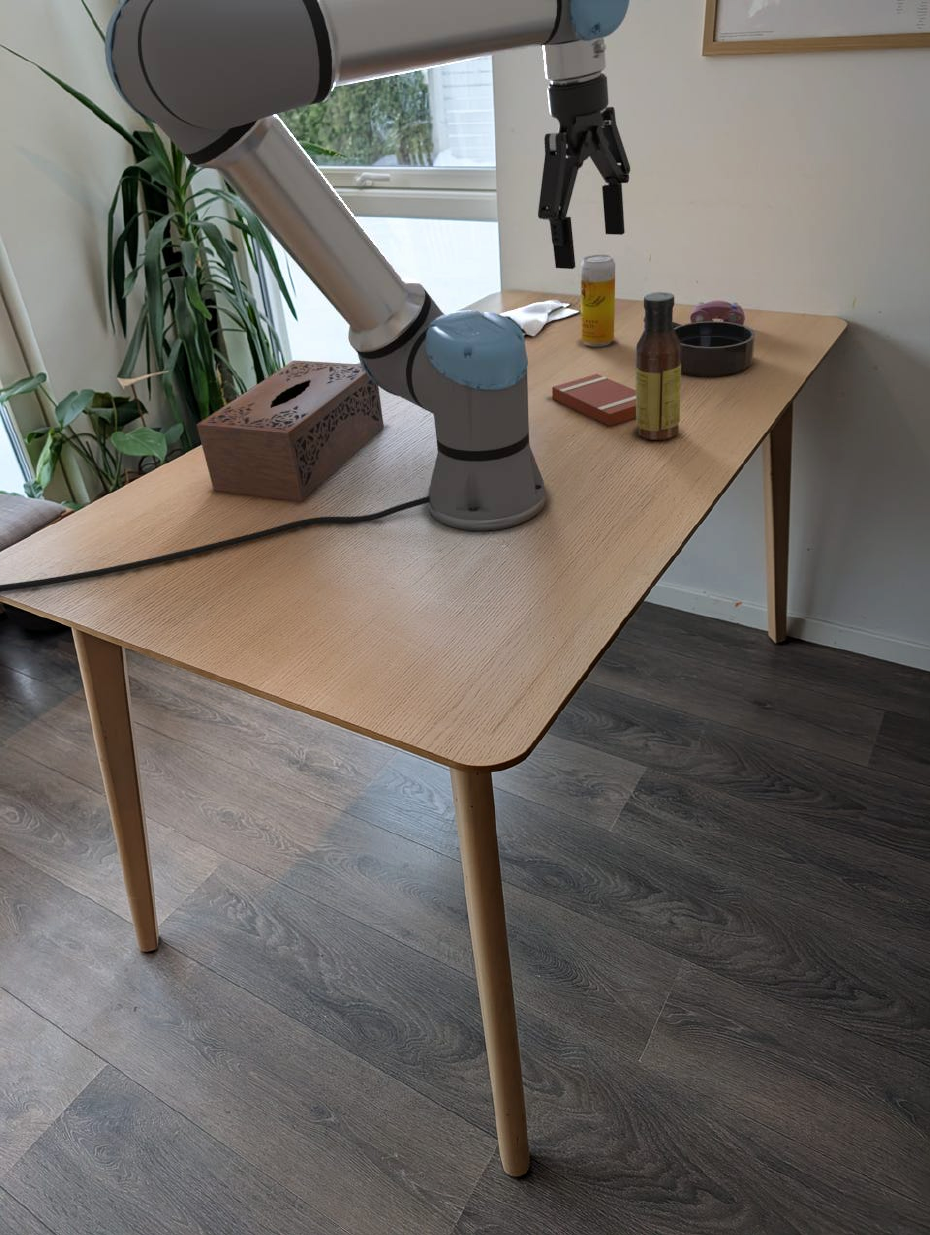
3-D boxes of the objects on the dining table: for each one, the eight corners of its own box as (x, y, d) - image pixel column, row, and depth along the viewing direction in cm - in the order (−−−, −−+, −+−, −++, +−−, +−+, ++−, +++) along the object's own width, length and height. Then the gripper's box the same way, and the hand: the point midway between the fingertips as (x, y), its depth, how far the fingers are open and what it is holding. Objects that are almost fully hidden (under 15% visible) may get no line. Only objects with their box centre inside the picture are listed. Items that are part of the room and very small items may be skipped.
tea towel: (609, 426, 134) (609, 413, 133) (552, 398, 145) (551, 386, 144) (656, 411, 137) (656, 398, 136) (596, 385, 148) (596, 373, 147)
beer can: (575, 341, 168) (574, 258, 159) (602, 335, 170) (603, 252, 161) (592, 349, 163) (592, 264, 155) (620, 343, 165) (622, 258, 156)
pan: (706, 384, 145) (708, 354, 142) (649, 362, 155) (650, 333, 153) (769, 363, 150) (773, 334, 148) (710, 344, 161) (712, 316, 158)
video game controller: (688, 339, 168) (688, 311, 162) (690, 322, 170) (691, 293, 164) (742, 340, 165) (745, 311, 159) (744, 322, 167) (747, 293, 161)
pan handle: (685, 334, 157) (686, 324, 156) (677, 336, 156) (678, 326, 155) (649, 322, 164) (649, 312, 163) (641, 324, 163) (641, 314, 162)
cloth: (537, 300, 192) (537, 289, 191) (591, 307, 185) (591, 296, 183) (462, 335, 176) (461, 323, 175) (518, 344, 169) (517, 332, 167)
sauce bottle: (676, 424, 133) (685, 287, 121) (681, 441, 128) (690, 300, 116) (632, 426, 134) (636, 290, 122) (634, 443, 129) (639, 303, 117)
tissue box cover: (301, 501, 121) (287, 433, 116) (213, 490, 126) (196, 424, 121) (383, 427, 141) (375, 365, 135) (304, 420, 146) (293, 360, 140)
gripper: (548, 101, 103) (567, 284, 116) (650, 52, 117) (657, 221, 130) (495, 104, 107) (519, 281, 120) (600, 57, 121) (611, 220, 134)
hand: (591, 250), depth 125 cm, fingers open, 13 cm apart
